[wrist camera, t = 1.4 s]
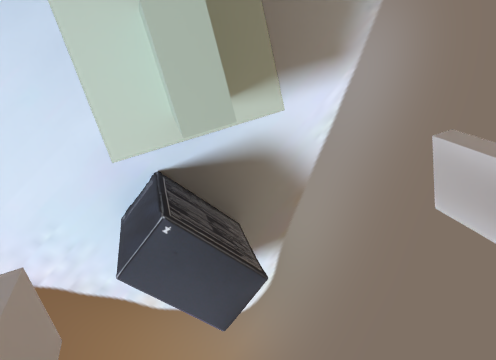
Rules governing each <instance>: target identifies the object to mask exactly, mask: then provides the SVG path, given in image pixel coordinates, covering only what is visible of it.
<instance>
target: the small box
mask: <svg viewBox="0 0 496 360" xmlns="http://www.w3.org/2000/svg"><path fill="white" fill-rule="evenodd" d="M116 279H118V280H120V281H122V282H124V283H126V284H128V285H130V286H132V287H134V288H136V289H138V290H140V291H142V292H144V293H146V294H148V295H151V296H153V297H155V298H157V299H159V300H161V301H163V302H165V303H167V304H169V305H171V306H173V307H175V308H177V309H179V310H181V311H183V312H185V313H187V314H189V315H191V316H193V317H195V318H197V319H200V320H201V321H203V322H205V323H207V324H209V325H211V326H213V327H215V328H218V329H219V330H221V331H225V330H226V329H227V328H228V327H229V326H230V325H231V324H232V322H233V321H234V320H235V319H236V317H237V316H238V315H239V314H240V313H241V311H242V310H243V309H244V308H245V307H246V305H247V304H248V303H249V302H250V300H251V299H252V298H253V297H254V296H255V294H256V293H257V292H258V291H259V289H260V288H261V287H262V286H263V284H264V283H265V282H266V281H267V279H268V276H267V275H266V273H265V272H264V270H263V269H262V267H261V266H260V264H259V262H258V260H257V259H256V257H255V254H254V253H253V251H252V249H251V247H250V245H249V243H248V241H247V239H246V237H245V235H244V233H243V231H242V229H241V227H240V224H239V223H237V222H236V221H234V220H233V219H231V218H230V217H228V216H227V215H225V214H223V213H222V212H220V211H219V210H217V209H216V208H215V207H213V206H211V205H210V204H208V203H207V202H205V201H203V200H202V199H200V198H199V197H197V196H196V195H194V194H193V193H191V192H190V191H188V190H186V189H185V188H183V187H182V186H180V185H179V184H177V183H176V182H174V181H172V180H171V179H169V178H167V177H166V176H164V175H163V174H161V173H160V172H156V173H154V175H152V177H151V179H150V181H149V182H148V183H147V184H146V186H145V188H144V189H143V191H141V193H140V194H139V196H138V197H137V198H136V199H135V201H134V202H133V204H132V205H130V206H129V208H128V210H127V211H126V213H125V215H124V216H123V217H122V219H121V232H120V244H119V253H118V265H117V275H116Z"/></svg>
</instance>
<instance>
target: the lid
mask: <svg viewBox="0 0 496 360" xmlns="http://www.w3.org/2000/svg"><path fill="white" fill-rule="evenodd" d="M48 2H49V4H50V7H51V9H52V12H53V14H54V17H55V19H56V22H57V24H58V27H59V29H60V32H61V34H62V37H63V40H64V42H65V45H66V47H67V50H68V52H69V55H70V57H71V60H72V62H73V65H74V67H75V70H76V72H77V75H78V77H79V80H80V82H81V85H82V88H83V90H84V93H85V95H86V98H87V100H88V103H89V105H90V108H91V110H92V113H93V115H94V118H95V120H96V123H97V125H98V128H99V131H100V133H101V136H102V138H103V141H104V143H105V146H106V148H107V151H108V153H109V156H110V158H111V161H112V163H114V162H118V161H121V160H124V159H127V158H131V157H134V156H137V155H140V154H144V153H147V152H150V151H153V150H157V149H160V148H163V147H166V146H170V145H173V144H176V143H179V142H183V141H186V140H189V139H192V138H196V137H199V136H202V135H205V134H209V133H212V132H215V131H218V130H222V129H225V128H228V127H231V126H235V125H238V124H241V123H244V122H248V121H251V120H254V119H257V118H261V117H264V116H267V115H270V114H274V113H277V112H280V111H284V110H285V109H284V104H283V99H282V95H281V90H280V85H279V80H278V76H277V71H276V66H275V62H274V57H273V52H272V47H271V43H270V38H269V33H268V29H267V24H266V19H265V14H264V10H263V5H262V0H48Z"/></svg>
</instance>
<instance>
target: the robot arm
mask: <svg viewBox="0 0 496 360" xmlns="http://www.w3.org/2000/svg"><path fill="white" fill-rule="evenodd" d="M432 139H433V162H434V163H433V164H434V187H435V188H434V189H435V208H436V209H438V210H439V211H441V212H443V213H445V214H446V215H448V216H450V217H451V218H453V219H455V220H457V221H458V222H460V223H462V224H463V225H465V226H467V227H468V228H470V229H472V230H474V231H475V232H477V233H479V234H481V235H482V236H484V237H486V238H487V239H489V240H491V241H492V242H494V243H496V143H495V142H492V141H488V140H485V139H482V138H479V137H476V136H472V135H469V134H465V133H463V132H460V131H456V130H453V129H452V130H448V131H445V132H443V133H439V134H436V135H433V136H432ZM61 343H62V339H61V338H60V336H59V334H58V332H57V330H56V328H55V326H54V325H53V323H52V321H51V319H50V317H49V315H48V313H47V311H46V310H45V308H44V306H43V304H42V302H41V300H40V299H39V297H38V295H37V293H36V291H35V289H34V287H33V285H32V283H31V281H30V280H29V278H28V276H27V274H26V272H25V270H24V268H20V269H17V270H14V271H10V272H7V273H4V274H1V275H0V360H58V357H59V352H60V348H61Z"/></svg>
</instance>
